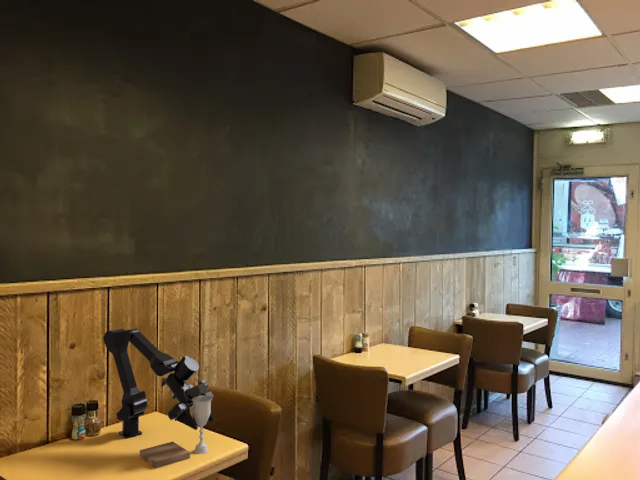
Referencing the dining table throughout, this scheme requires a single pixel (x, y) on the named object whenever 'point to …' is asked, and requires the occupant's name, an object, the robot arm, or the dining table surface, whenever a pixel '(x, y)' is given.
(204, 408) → the chalice
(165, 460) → the walnut board
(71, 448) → the dining table surface
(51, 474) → the dining table surface
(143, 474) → the dining table surface
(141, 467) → the dining table surface
